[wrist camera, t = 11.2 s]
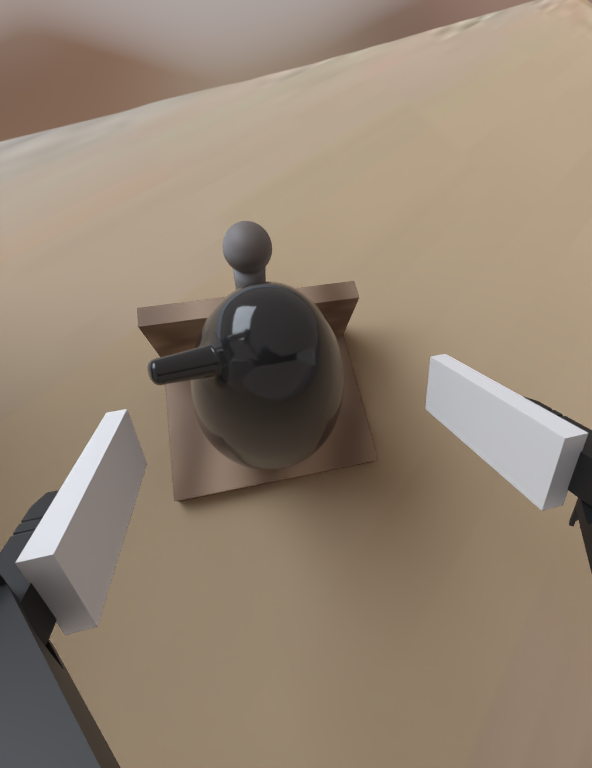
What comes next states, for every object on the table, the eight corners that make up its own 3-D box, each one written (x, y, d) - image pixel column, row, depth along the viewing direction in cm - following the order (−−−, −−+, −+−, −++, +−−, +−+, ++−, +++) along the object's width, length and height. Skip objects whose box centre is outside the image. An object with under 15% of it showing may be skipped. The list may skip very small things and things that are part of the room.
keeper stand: (178, 501, 26) (86, 497, 13) (165, 344, 30) (86, 223, 17) (373, 461, 28) (464, 423, 15) (335, 320, 32) (379, 197, 19)
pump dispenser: (185, 384, 28) (96, 258, 14) (296, 338, 30) (320, 188, 16) (233, 499, 25) (185, 493, 11) (351, 439, 27) (441, 369, 13)
